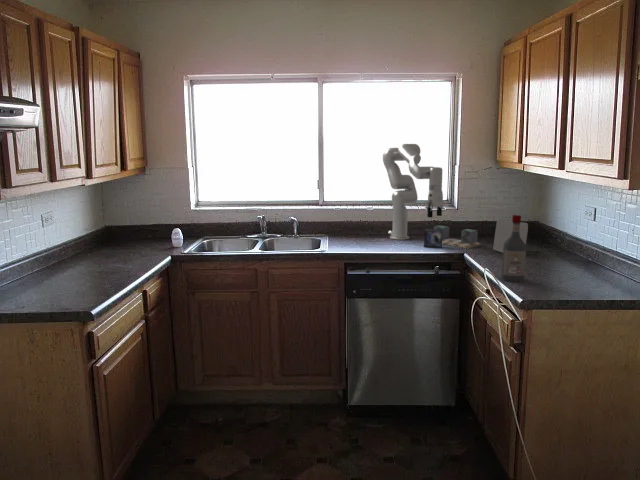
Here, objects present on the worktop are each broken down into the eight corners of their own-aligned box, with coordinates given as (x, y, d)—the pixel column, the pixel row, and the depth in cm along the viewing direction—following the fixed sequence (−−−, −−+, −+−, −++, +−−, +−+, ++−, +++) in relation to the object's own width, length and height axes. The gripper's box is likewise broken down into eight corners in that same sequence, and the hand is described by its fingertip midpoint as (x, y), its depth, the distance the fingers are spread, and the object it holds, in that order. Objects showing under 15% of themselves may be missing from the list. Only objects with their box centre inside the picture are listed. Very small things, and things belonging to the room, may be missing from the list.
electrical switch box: (528, 255, 318) (533, 221, 317) (516, 255, 308) (521, 220, 307) (505, 251, 329) (509, 218, 327) (492, 251, 319) (497, 217, 317)
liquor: (524, 282, 249) (529, 217, 244) (503, 281, 251) (508, 216, 245) (520, 277, 258) (525, 214, 253) (500, 276, 260) (504, 214, 254)
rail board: (429, 242, 347) (429, 226, 345) (441, 239, 357) (442, 224, 355) (468, 248, 327) (469, 232, 326) (480, 245, 337) (481, 229, 335)
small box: (423, 247, 331) (424, 230, 329) (424, 245, 337) (425, 228, 335) (441, 248, 328) (442, 231, 326) (442, 246, 334) (442, 229, 332)
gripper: (432, 189, 317) (431, 218, 320) (448, 187, 329) (447, 215, 332) (421, 188, 322) (421, 217, 325) (438, 187, 334) (437, 214, 337)
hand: (434, 216), depth 329 cm, fingers open, 9 cm apart
